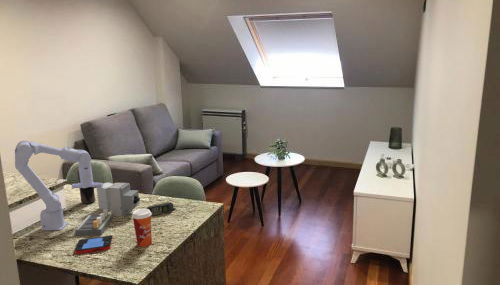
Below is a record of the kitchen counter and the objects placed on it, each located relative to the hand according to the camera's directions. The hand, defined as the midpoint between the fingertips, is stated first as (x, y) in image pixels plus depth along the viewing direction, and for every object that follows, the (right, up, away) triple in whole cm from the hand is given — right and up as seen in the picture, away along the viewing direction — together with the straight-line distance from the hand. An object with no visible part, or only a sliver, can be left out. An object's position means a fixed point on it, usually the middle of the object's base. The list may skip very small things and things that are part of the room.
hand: (89, 201), depth 200 cm
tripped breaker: (+8, -10, -13) cm, 19 cm away
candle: (-10, -4, +24) cm, 26 cm away
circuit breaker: (+16, -7, +8) cm, 20 cm away
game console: (+12, -16, -24) cm, 31 cm away
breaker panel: (+5, -11, -6) cm, 14 cm away
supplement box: (+4, -6, +16) cm, 17 cm away
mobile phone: (+34, -7, +8) cm, 36 cm away
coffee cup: (+34, -15, -24) cm, 44 cm away
